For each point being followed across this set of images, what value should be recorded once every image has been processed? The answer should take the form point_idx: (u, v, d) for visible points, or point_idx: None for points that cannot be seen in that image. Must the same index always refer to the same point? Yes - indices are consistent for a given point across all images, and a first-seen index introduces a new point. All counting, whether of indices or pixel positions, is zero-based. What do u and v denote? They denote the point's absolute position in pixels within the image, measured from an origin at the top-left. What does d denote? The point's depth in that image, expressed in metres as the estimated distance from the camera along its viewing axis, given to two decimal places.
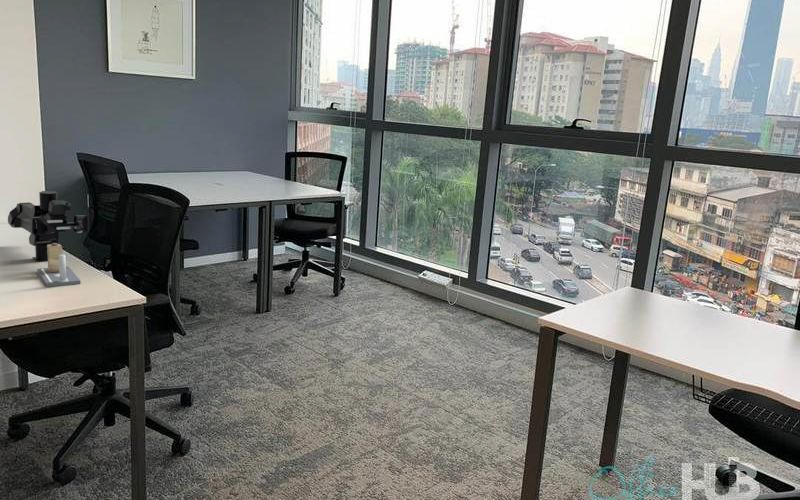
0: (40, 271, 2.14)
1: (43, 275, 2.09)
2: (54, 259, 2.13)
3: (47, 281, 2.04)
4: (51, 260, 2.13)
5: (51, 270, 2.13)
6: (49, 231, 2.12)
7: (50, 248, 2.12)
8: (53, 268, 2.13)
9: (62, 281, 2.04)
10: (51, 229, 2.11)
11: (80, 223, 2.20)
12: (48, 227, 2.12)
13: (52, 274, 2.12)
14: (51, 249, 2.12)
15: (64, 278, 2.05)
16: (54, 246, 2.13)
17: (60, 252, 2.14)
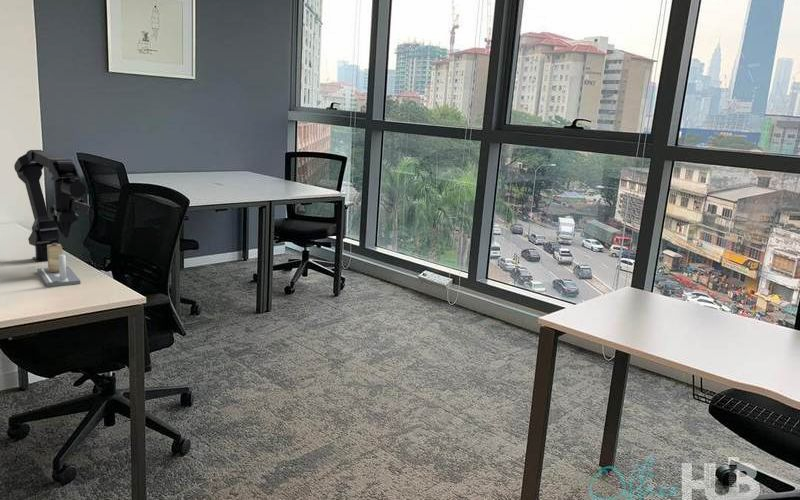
0: (40, 271, 2.14)
1: (43, 275, 2.09)
2: (54, 259, 2.13)
3: (47, 281, 2.04)
4: (51, 260, 2.13)
5: (51, 270, 2.13)
6: (64, 231, 2.19)
7: (50, 248, 2.12)
8: (53, 268, 2.13)
9: (62, 281, 2.04)
10: (66, 233, 2.20)
11: None
12: (68, 230, 2.19)
13: (52, 274, 2.12)
14: (51, 249, 2.12)
15: (64, 278, 2.05)
16: (54, 246, 2.13)
17: (60, 252, 2.14)
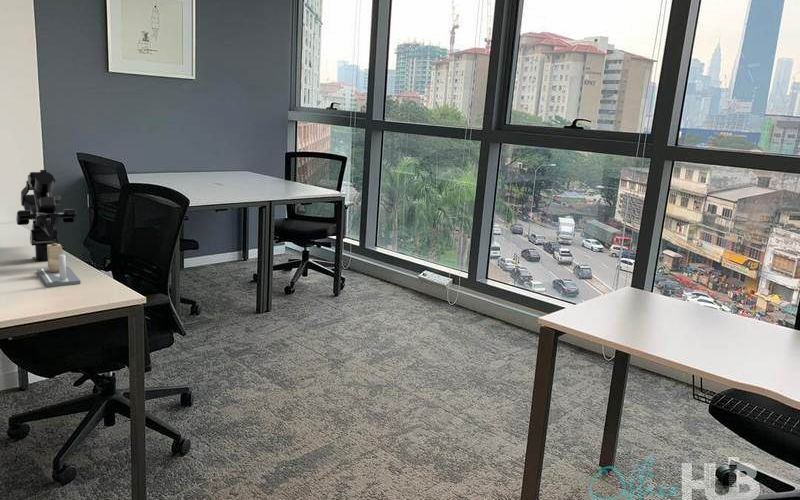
0: (40, 271, 2.14)
1: (43, 275, 2.09)
2: (54, 259, 2.13)
3: (47, 281, 2.04)
4: (51, 260, 2.13)
5: (51, 270, 2.13)
6: (46, 231, 2.19)
7: (50, 248, 2.12)
8: (53, 268, 2.13)
9: (62, 281, 2.04)
10: (47, 232, 2.18)
11: (52, 225, 2.20)
12: (45, 228, 2.18)
13: (52, 274, 2.12)
14: (51, 249, 2.12)
15: (64, 278, 2.05)
16: (54, 246, 2.13)
17: (60, 252, 2.14)
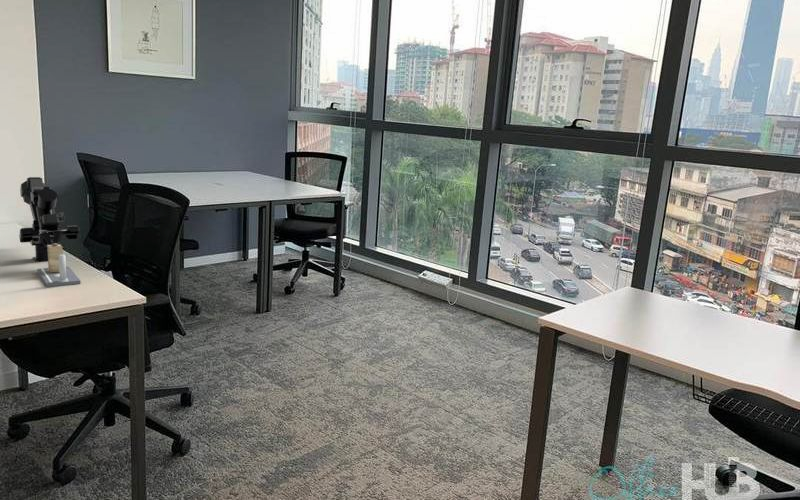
0: (40, 271, 2.14)
1: (43, 275, 2.09)
2: (54, 259, 2.13)
3: (47, 281, 2.04)
4: (51, 260, 2.12)
5: (51, 270, 2.13)
6: None
7: (50, 248, 2.11)
8: (53, 268, 2.13)
9: (62, 281, 2.04)
10: None
11: (55, 242, 2.17)
12: None
13: (52, 274, 2.12)
14: (51, 249, 2.11)
15: (64, 278, 2.05)
16: (54, 246, 2.12)
17: (60, 252, 2.13)
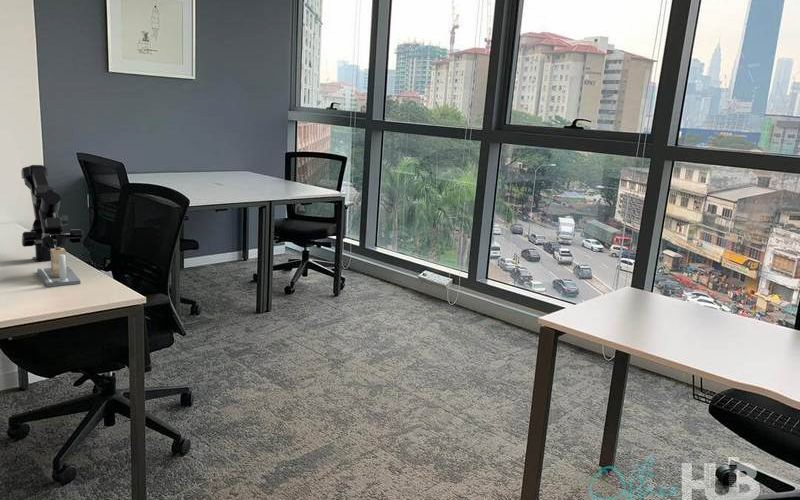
0: (40, 271, 2.14)
1: (43, 275, 2.09)
2: (58, 263, 2.08)
3: (47, 281, 2.04)
4: (55, 265, 2.08)
5: (55, 275, 2.08)
6: None
7: (54, 252, 2.07)
8: (56, 273, 2.08)
9: (62, 281, 2.04)
10: None
11: (58, 246, 2.13)
12: None
13: None
14: (55, 253, 2.07)
15: (64, 278, 2.05)
16: (58, 250, 2.08)
17: None
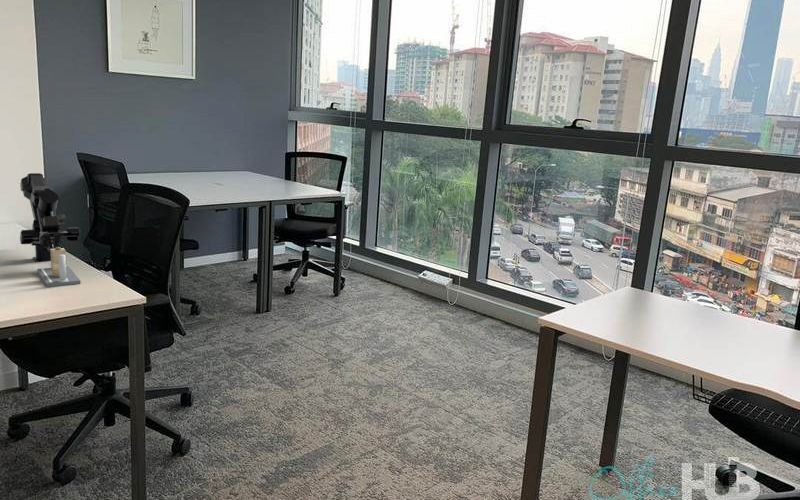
0: (40, 271, 2.14)
1: (43, 275, 2.09)
2: (58, 263, 2.08)
3: (47, 281, 2.04)
4: (55, 265, 2.08)
5: (55, 275, 2.08)
6: (49, 251, 2.16)
7: (54, 252, 2.07)
8: (56, 273, 2.08)
9: (62, 281, 2.04)
10: None
11: (56, 244, 2.16)
12: (49, 248, 2.15)
13: None
14: (55, 253, 2.07)
15: (64, 278, 2.05)
16: (58, 250, 2.08)
17: None
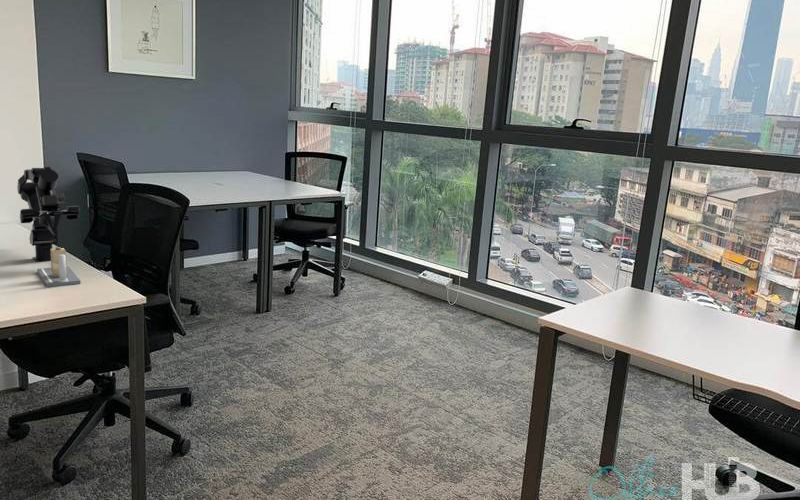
0: (40, 271, 2.14)
1: (43, 275, 2.09)
2: (58, 263, 2.08)
3: (47, 281, 2.04)
4: (55, 265, 2.08)
5: (55, 275, 2.08)
6: (50, 230, 2.17)
7: (54, 252, 2.07)
8: (56, 273, 2.08)
9: (62, 281, 2.04)
10: (51, 231, 2.16)
11: (56, 223, 2.17)
12: (49, 227, 2.16)
13: None
14: (55, 253, 2.07)
15: (64, 278, 2.05)
16: (58, 250, 2.08)
17: None
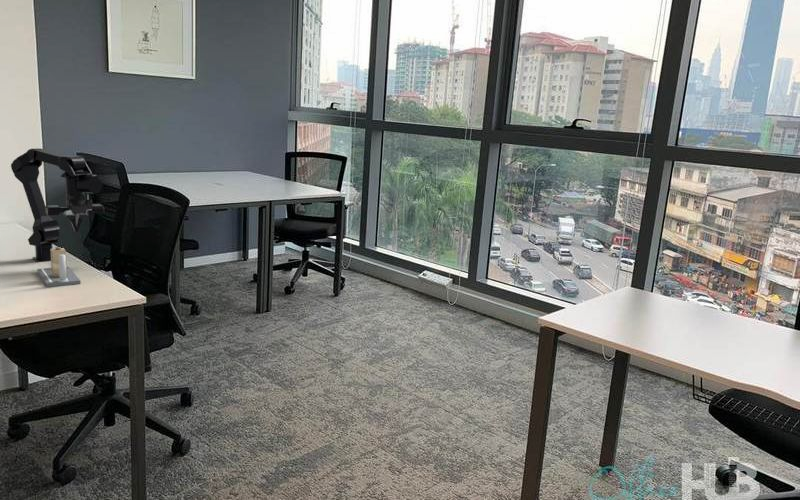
0: (40, 271, 2.14)
1: (43, 275, 2.09)
2: (58, 263, 2.08)
3: (47, 281, 2.04)
4: (55, 265, 2.08)
5: (55, 275, 2.08)
6: (72, 225, 2.25)
7: (54, 252, 2.07)
8: (56, 273, 2.08)
9: (62, 281, 2.04)
10: (73, 228, 2.25)
11: (79, 222, 2.24)
12: (72, 225, 2.24)
13: None
14: (55, 253, 2.07)
15: (64, 278, 2.05)
16: (58, 250, 2.08)
17: None
